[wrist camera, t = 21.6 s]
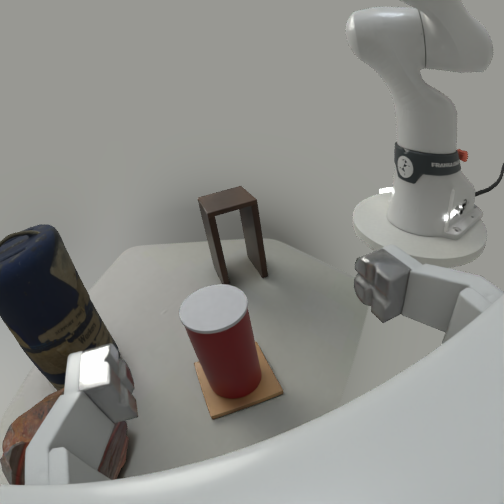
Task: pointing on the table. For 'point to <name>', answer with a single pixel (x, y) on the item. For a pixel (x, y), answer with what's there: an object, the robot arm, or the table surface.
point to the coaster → (225, 406)
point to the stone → (28, 426)
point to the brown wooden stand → (250, 223)
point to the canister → (46, 301)
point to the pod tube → (223, 339)
